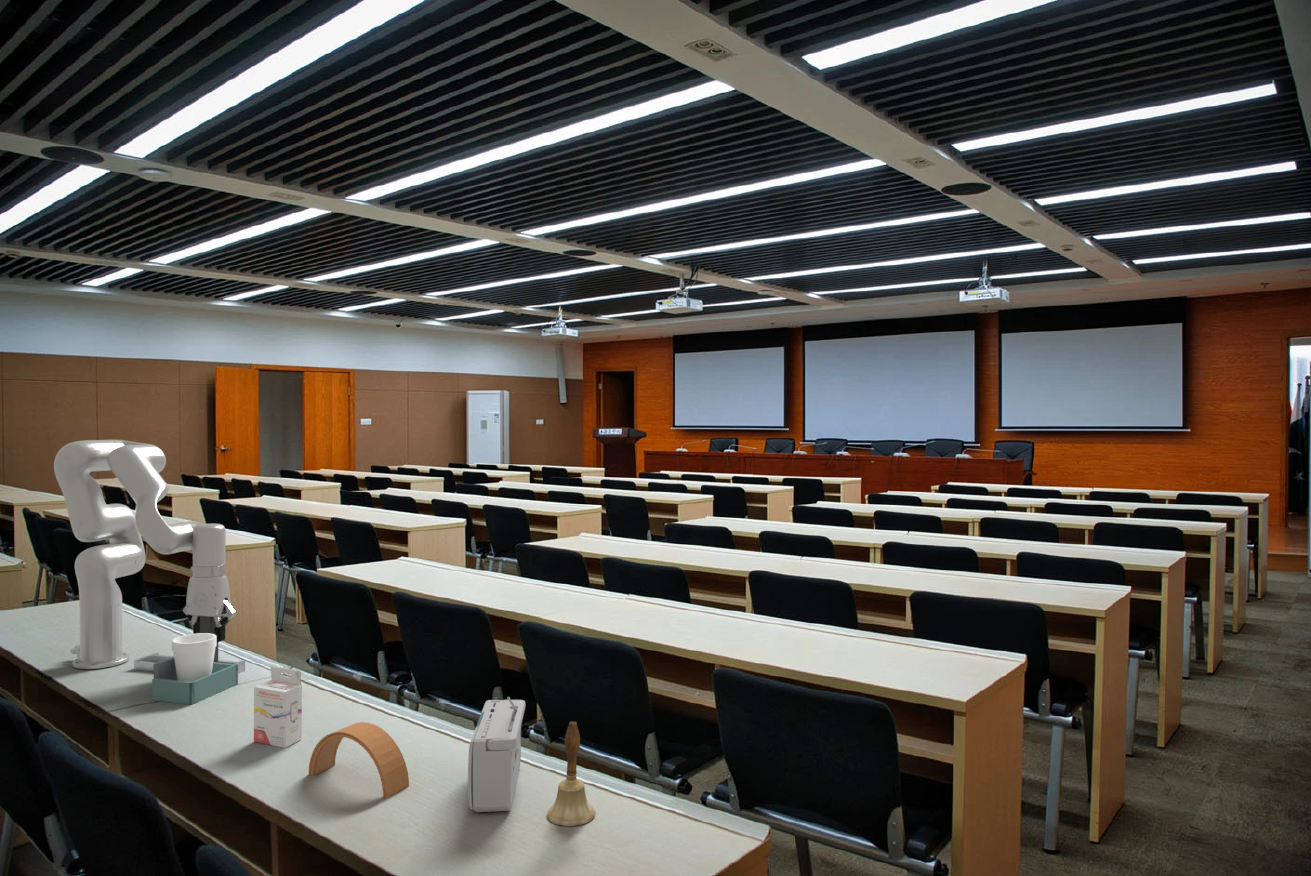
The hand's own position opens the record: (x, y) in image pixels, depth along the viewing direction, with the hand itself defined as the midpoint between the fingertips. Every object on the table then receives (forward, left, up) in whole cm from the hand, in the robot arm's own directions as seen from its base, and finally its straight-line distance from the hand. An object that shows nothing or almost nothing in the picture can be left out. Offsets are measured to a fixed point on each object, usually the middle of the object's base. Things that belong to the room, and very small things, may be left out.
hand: (209, 639), depth 216 cm
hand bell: (+116, -50, -9) cm, 127 cm away
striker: (+1, -9, -8) cm, 12 cm away
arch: (+73, -47, -9) cm, 88 cm away
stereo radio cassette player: (+100, -44, -9) cm, 109 cm away
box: (+9, -14, -9) cm, 18 cm away
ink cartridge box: (+47, -35, -9) cm, 59 cm away
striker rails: (-6, 0, -9) cm, 10 cm away
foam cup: (+8, -14, -9) cm, 18 cm away
